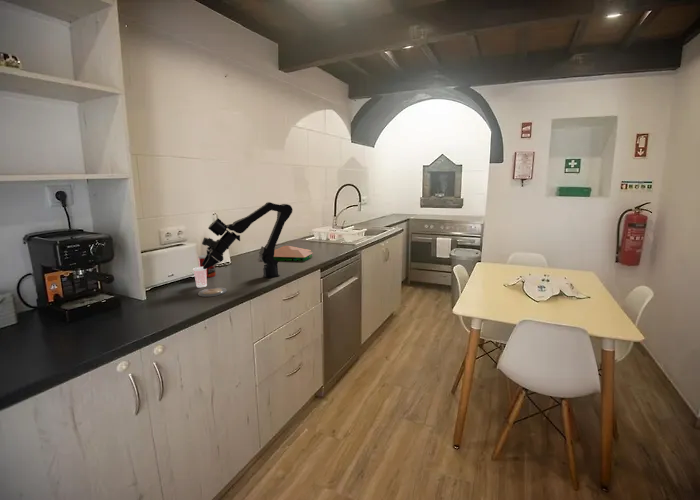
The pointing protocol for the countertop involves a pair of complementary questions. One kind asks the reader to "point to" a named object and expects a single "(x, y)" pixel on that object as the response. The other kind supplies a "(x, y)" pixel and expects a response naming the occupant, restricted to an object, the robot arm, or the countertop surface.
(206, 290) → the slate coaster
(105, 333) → the countertop surface
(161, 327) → the countertop surface
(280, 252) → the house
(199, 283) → the beverage cup
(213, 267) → the canned food
